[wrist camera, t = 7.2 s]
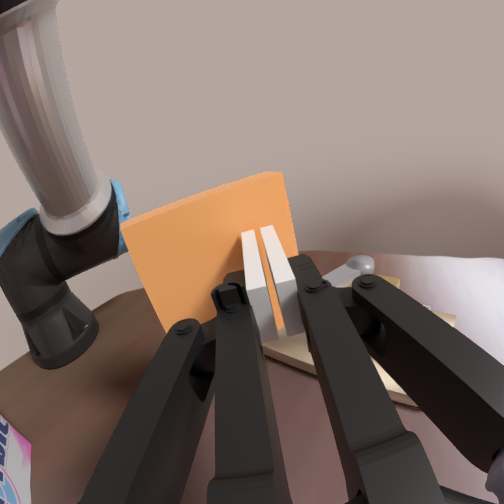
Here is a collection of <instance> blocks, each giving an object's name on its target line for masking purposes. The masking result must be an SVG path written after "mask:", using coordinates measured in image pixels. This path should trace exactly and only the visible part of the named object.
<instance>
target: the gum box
mask: <svg viewBox="0 0 504 504" xmlns="http://www.w3.org/2000/svg"><path fill="white" fill-rule="evenodd" d="M31 446H32V445H31V443H30V442H29V441H27V440H26V439H25V438H24V437H23V436H22V435H21V434H20V433H18V432H17V431H16V430H15V429H14V428H13V427H12V426H11V425H10V424H9V423H8V422H7V421H6V420H5V419H4V418H3V417H2V416H1V415H0V504H31V491H30V472H31Z"/></svg>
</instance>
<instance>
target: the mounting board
mask: <svg viewBox="0 0 504 504" xmlns="http://www.w3.org/2000/svg"><path fill="white" fill-rule="evenodd" d="M432 312H433V313H434V314H436V315H437V316H439V317H440V318H441V319H443V320H444V321H446V322H447V323H448V324H450V325H451V326H453V327H454V323H455V318H456V315H451V314H446V313H440V312H435V311H432ZM277 331H278V336H279V339H276V340H272V341H268V342H263V343H262V342H261V344H262V347H263V350H264V354H265V355H267V356H270V357H272V358H274V359H277V360H279V361H282V362H284V363H287V364H289V365H292V366H294V367H297V368H299V369H302V370H304V371H307V372H309V373H312V374H315V375H317V373H316V370H315V366H314V363H313V359H312V356H311V353H310V352H309V351H308V345H307V338H306V332H305V333H301V334H297V335H293V336H289V337H287V333H286V329H285V326H284V327H283V328H281V329H279V330H277ZM304 331H305V329H304ZM370 357H371V356H370ZM371 359H372V361H373V363H374V365H375V367H376V369H377V371H378V373H379V375H380V377H381V379H382V381H383V383H384V385H385V387H386V389H387V391H388V394H389V396H390V398H391V400H393V401H397V402H400V403H404V404H408V405H411V406H415V407H418V406H417V405H416V404H415V402H414V401H413V400H412V399H411V398H410V397H409V396H408V395H407V394H406V393H405V392H404V391H403V390H402V389H401V387H400V386H399V385H398V384H397V383H396V382H395V381H394V380H393V379H392V378H391V377H390V376H389V375H388V374H387V373H386V372H385V371H384V369H383V368H382V367H381V366H380V365H379V364H378V363H377V362H376V361H375V360H374V359H373V358H372V357H371Z"/></svg>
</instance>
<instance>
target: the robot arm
mask: <svg viewBox="0 0 504 504" xmlns="http://www.w3.org/2000/svg"><path fill="white" fill-rule="evenodd" d="M58 1H59V0H0V129H1V132H2V134H3V136H4V138H5V140H6V142H7V144H8V146H9V148H10V150H11V152H12V154H13V156H14V158H15V160H16V162H17V163H18V165H19V167H20V169H21V171H22V173H23V175H24V176H25V178H26V180H27V182H28V183H29V185H30V187H31V188H32V190H33V192H34V193H35V195H36V197H37V198H38V200H39V201H40V203H41V206H40V213H39V214H38V211H37V210H36V209H35V208H31V209H29V210H27V211H25V212H24V213H22V214H21V215H19V216H18V217H17V218H15V219H14V220H12V221H11V222H10V223H8V224H7V225H6V226H5V227H3V228H2V229H1V230H0V287H1V288H2V290H3V292H4V294H5V296H6V298H7V300H8V301H9V303H10V305H11V307H12V309H13V310H14V312H15V314H16V316H17V317H18V319H19V321H20V322H21V324H22V327H23V330H24V334H25V337H26V340H27V343H28V346H29V349H30V352H31V354H32V356H33V358H34V359H35V360H36V362H37V363H38V364H39V366H41V367H42V368H45V369H54V368H58V367H61V366H63V365H66V364H68V363H69V362H71V361H73V360H74V359H76V358H77V357H78V356H80V355H81V354H82V353H83V352H84V351H85V350H86V349H87V348H88V347H89V346H90V345H91V344H92V342H93V341H94V339H95V337H96V336H97V333H98V330H99V323H98V321H97V320H96V318H95V316H94V314H93V313H92V311H91V310H89V308H87V307H86V306H85V305H84V304H83V303H82V302H81V301H80V300H79V299H78V298H77V297H76V296H75V295H74V294H73V293H72V292H71V290H70V289H69V287H68V285H67V283H66V281H65V280H67V279H70V278H71V277H73V276H76V275H78V274H80V273H82V272H84V271H86V270H89V269H91V268H93V267H96V266H98V265H100V264H102V263H105V262H107V261H110V260H112V259H116V258H118V257H119V256H120V255H122V254H124V253H126V252H128V248H127V246H126V243H125V240H124V238H123V235H122V233H121V230H120V223H122V222H124V221H127V220H129V219H130V216H129V211H128V206H127V202H126V198H125V195H124V192H123V189H122V186H121V184H120V182H119V181H118V180H116V179H115V180H109V179H108V177H107V176H106V175H105V174H104V173H103V172H101V171H100V170H97V169H94V168H93V165H92V162H91V159H90V157H89V154H88V151H87V148H86V145H85V142H84V138H83V136H82V132H81V129H80V126H79V122H78V119H77V116H76V112H75V108H74V105H73V101H72V97H71V93H70V89H69V86H68V81H67V76H66V72H65V68H64V62H63V57H62V52H61V46H60V41H59V34H58V27H57V20H56V11H55V9H56V4H57V3H58ZM260 230H261V235H262V239H263V243H264V247H265V251H266V256H267V260H268V264H269V268H270V272H271V276H272V280H273V283H274V287H275V291H276V295H277V298H278V302H279V306H280V310H281V314H282V317H283V321H284V325H285V329H286V333H287V337H289V336H293V335H297V334H301V333H305V332H306V338H307V345H308V351H309V352H310V353H311V356H312V359H313V363H314V366H315V370H316V373H317V376H318V380H319V383H320V387H321V390H322V394H323V397H324V401H325V404H326V408H327V412H328V415H329V419H330V422H331V426H332V430H333V433H334V437H335V441H336V445H337V448H338V452H339V456H340V460H341V464H342V468H343V471H344V475H345V480H346V486H347V493H348V498H349V502H347V503H345V504H495V503H492V502H488V501H485V500H481V499H478V498H475V497H472V496H469V495H466V494H463V493H460V492H457V491H454V490H452V489H449V488H446V487H444V486H441V485H439V484H438V482H437V479H436V477H435V474H434V472H433V469H432V467H431V465H430V462H429V460H428V457H427V455H426V453H425V451H424V448H423V446H422V444H421V442H420V440H419V438H418V437H417V435H416V434H415V433H414V432H411V431H407V430H406V429H405V428H404V426H403V424H402V422H401V419H400V417H399V415H398V413H397V411H396V408H395V406H394V404H393V402H392V400H391V398H390V396H389V394H388V391H387V389H386V387H385V385H384V383H383V381H382V379H381V377H380V375H379V373H378V371H377V369H376V367H375V365H374V363H373V361H372V359H371V357H372V358H373V359H374V360H375V361H376V362H377V363H378V364H379V365H380V366H381V367H382V368H383V369H384V371H385V372H386V373H387V374H388V375H389V376H390V377H391V378H392V379H393V380H394V381H395V382H396V383H397V384H398V385H399V386H400V387H401V389H402V390H403V391H404V392H405V393H406V394H407V395H408V396H409V397H410V398H411V399H412V400H413V401H414V402H415V404H416V405H417V406H418V407H419V408H420V409H421V410H422V411H423V412H424V413H425V414H426V415H427V416H428V418H429V419H430V420H431V421H432V422H433V423H434V424H435V425H436V426H437V427H438V428H439V429H440V431H441V432H442V433H443V434H444V435H445V436H446V437H447V438H448V439H449V440H450V441H451V443H452V444H453V445H454V446H455V447H456V448H457V449H458V450H459V451H460V453H461V454H462V455H463V456H464V457H465V458H466V459H467V460H468V461H470V462H471V463H472V464H473V465H474V466H476V467H477V468H479V469H480V470H481V471H483V472H485V473H488V477H487V481H486V483H485V488H486V489H487V491H489V492H493V493H494V494H495V495H496V496H497V498H498V500H499V504H504V366H503V365H502V364H501V363H500V362H498V361H497V360H496V359H495V358H493V357H492V356H491V355H490V354H488V353H487V352H486V351H484V350H483V349H482V348H481V347H479V346H478V345H477V344H475V343H474V342H473V341H471V340H470V339H469V338H467V337H466V336H465V335H463V334H462V333H461V332H459V331H458V330H457V329H455V328H454V327H453V326H451V325H450V324H448V323H447V322H446V321H444V320H443V319H441V318H440V317H439V316H437V315H436V314H434V313H433V312H432V311H430V310H429V309H427V308H426V307H425V306H423V305H422V304H420V303H419V302H417V301H416V300H414V299H413V298H412V297H410V296H409V295H407V294H406V293H404V292H403V291H401V290H400V289H398V288H397V287H395V286H394V285H392V284H391V283H389V282H388V281H386V280H385V279H383V278H382V277H380V276H378V275H374V274H364V275H361V276H358V277H356V278H355V279H354V280H353V281H352V287H333V286H332V284H331V283H330V282H329V281H328V280H325V279H323V278H322V276H321V275H320V273H319V271H318V270H317V268H316V266H315V264H314V263H313V261H312V259H311V258H310V257H309V256H307V255H305V254H301V255H297V256H293V257H289V258H286V255H285V253H284V251H283V248H282V246H281V244H280V241H279V239H278V237H277V234H276V232H275V230H274V227H273V225H270V226H266V227H262V228H260ZM241 236H242V247H243V259H244V269H243V270H239V271H235V272H230V273H227V274H226V276H225V277H224V279H223V283H222V284H220V285H218V286H216V287H215V288H214V289H213V290H212V292H211V297H212V300H213V302H214V305H215V308H216V310H217V316H216V317H214V318H213V319H211V320H209V321H207V322H205V323H202V324H200V323H199V321H198V320H196V319H192V318H188V319H183V320H180V321H178V322H176V323H175V324H174V325H172V327H171V328H170V329H169V331H168V332H167V334H166V336H165V338H164V340H163V341H162V343H161V345H160V347H159V348H158V350H157V352H156V354H155V356H154V357H153V359H152V361H151V363H150V365H149V367H148V368H147V370H146V372H145V374H144V376H143V378H142V379H141V381H140V383H139V385H138V387H137V389H136V391H135V393H134V394H133V396H132V398H131V400H130V402H129V404H128V406H127V408H126V410H125V412H124V413H123V415H122V417H121V419H120V421H119V423H118V425H117V427H116V429H115V431H114V433H113V435H112V437H111V439H110V441H109V443H108V445H107V447H106V449H105V451H104V453H103V455H102V457H101V459H100V461H99V463H98V465H97V467H96V469H95V471H94V473H93V475H92V478H91V480H90V482H89V484H88V486H87V488H86V490H85V492H84V495H83V497H82V499H81V500H80V501H79V502H78V503H77V504H179V503H180V500H181V497H182V494H183V491H184V488H185V485H186V481H187V478H188V475H189V472H190V469H191V466H192V462H193V459H194V456H195V453H196V450H197V446H198V443H199V440H200V437H201V434H202V430H203V427H204V424H205V421H206V418H207V414H208V411H209V408H210V405H211V402H212V398H213V395H214V392H215V469H216V470H215V477H214V478H213V479H212V480H210V481H209V484H208V490H207V504H293V503H292V500H291V496H290V492H289V487H288V482H287V477H286V471H285V466H284V460H283V455H282V450H281V444H280V439H279V433H278V428H277V422H276V417H275V411H274V406H273V400H272V395H271V389H270V384H269V378H268V372H267V367H266V361H265V356H264V350H263V347H262V344H261V342H262V343H263V342H268V341H272V340H276V339H279V336H278V331H277V327H276V322H275V318H274V313H273V309H272V304H271V300H270V295H269V291H268V286H267V282H266V277H265V273H264V269H263V265H262V260H261V256H260V252H259V248H258V244H257V240H256V236H255V232H254V229H253V230H249V231H245V232H241ZM304 329H305V331H304ZM370 356H371V357H370Z"/></svg>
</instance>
